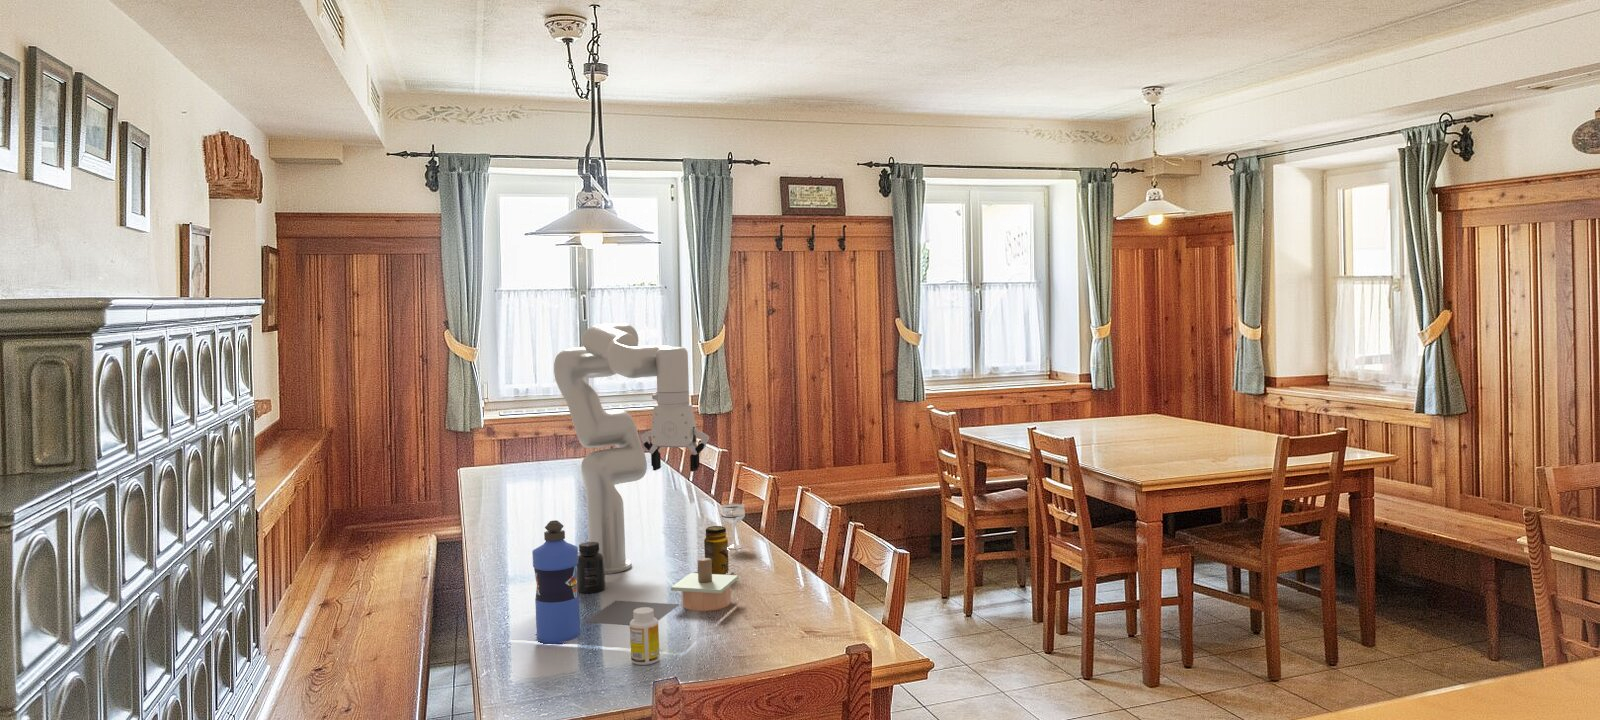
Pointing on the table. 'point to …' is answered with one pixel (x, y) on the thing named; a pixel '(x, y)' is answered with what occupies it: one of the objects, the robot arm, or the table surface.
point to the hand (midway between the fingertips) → (675, 470)
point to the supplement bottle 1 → (590, 569)
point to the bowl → (706, 600)
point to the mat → (627, 612)
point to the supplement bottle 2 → (644, 637)
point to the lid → (705, 580)
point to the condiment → (717, 549)
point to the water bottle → (556, 587)
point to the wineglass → (733, 517)
